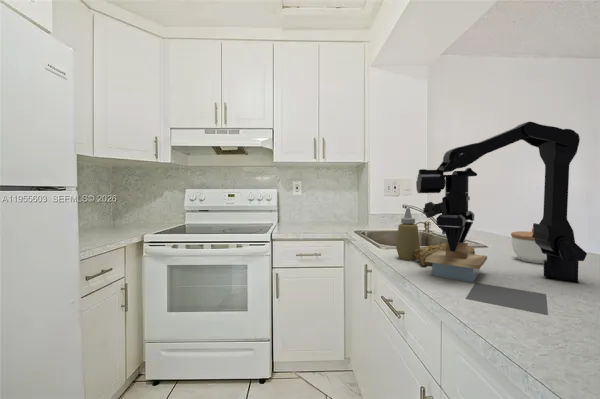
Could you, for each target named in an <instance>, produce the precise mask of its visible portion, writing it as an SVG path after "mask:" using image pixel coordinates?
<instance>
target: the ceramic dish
mask: <svg viewBox="0 0 600 399" xmlns="http://www.w3.org/2000/svg"><path fill="white" fill-rule="evenodd" d="M431 266H432V270H431V271H432V273H431V275H432V276H434V277H439V278H444V279H450V280H458V281H461V282H462V281H463V282H469V283H474V282H475V281H476V279H477V277H478V276H479V275H480V269H473V268H466V267H459V266H452V265H445V264H439V263H432V265H431Z"/></svg>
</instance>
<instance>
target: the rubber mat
mask: <svg viewBox="0 0 600 399" xmlns="http://www.w3.org/2000/svg"><path fill="white" fill-rule="evenodd" d="M547 299H548V298H547V294H546V293H541V292H536V291H530V290H522V289H518V288H517V289H516V288H511V287H506V286H505V287H504V286H499V285H493V284H487V283H481V282H475V283H474V284H473V286H472V287H471V289H470V290H469V292H468V294H467V295H466V297H465V300H469V301H475V302H480V303H483V304H490V305H495V306H500V307H505V308H510V309H515V310H519V311H520V310H521V311H525V312H530V313H535V314H541V315H544V316H549V310H548V300H547Z"/></svg>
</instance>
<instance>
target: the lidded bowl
mask: <svg viewBox="0 0 600 399" xmlns="http://www.w3.org/2000/svg"><path fill="white" fill-rule="evenodd" d="M533 233H534V229H533V227H532V228H531V231H512V232H511V233H510V235H511V246H512V249H513V252H514V254H516V256H517V257H518V258H519V259H520V261H523V262H527V263H533V264H544V260H547V254H543V253H542V251H541V249H540V247H539V246H538V245H537V244H536V243H535V238H532V236H533Z"/></svg>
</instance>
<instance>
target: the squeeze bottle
mask: <svg viewBox="0 0 600 399" xmlns="http://www.w3.org/2000/svg"><path fill="white" fill-rule="evenodd" d="M400 222H401V223H400V224H398V227H397V236H396V247H395V249H396V252H397V255H398V258H399V259H400V260H401V259H402V260H406V261H414V260H417V259H416V256H415V250H416V249H420V248H421V247H420V246H421V245H420V236H419V227H418V225H417V224H415V223H416V219H415V218H413V217H412V212H411V208H410V207H406V208H405V214H404V216H403V217H401V218H400Z"/></svg>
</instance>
